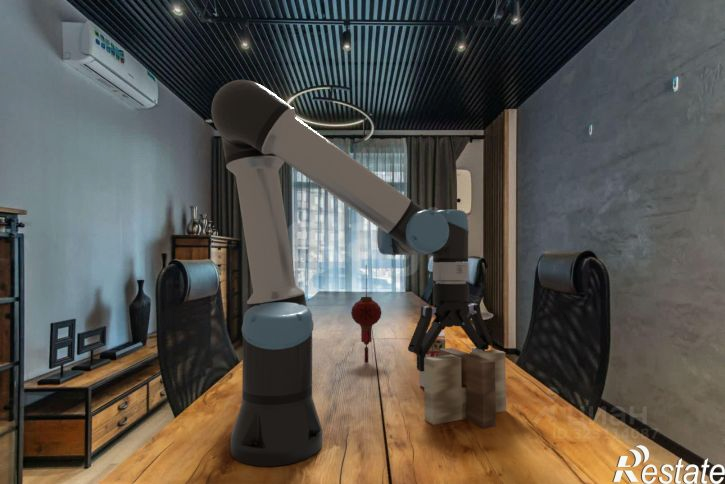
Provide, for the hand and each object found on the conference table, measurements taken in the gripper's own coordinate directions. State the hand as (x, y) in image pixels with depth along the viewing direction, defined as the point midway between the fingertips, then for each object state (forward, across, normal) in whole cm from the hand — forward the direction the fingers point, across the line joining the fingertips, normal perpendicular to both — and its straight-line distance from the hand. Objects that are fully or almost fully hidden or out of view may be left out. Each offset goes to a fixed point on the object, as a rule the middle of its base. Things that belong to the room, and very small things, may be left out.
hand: (452, 382), depth 90 cm
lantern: (+5, +1, +46) cm, 46 cm away
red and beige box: (+6, +10, +22) cm, 25 cm away
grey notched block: (+5, 0, -5) cm, 7 cm away
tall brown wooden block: (+5, 0, -4) cm, 7 cm away
